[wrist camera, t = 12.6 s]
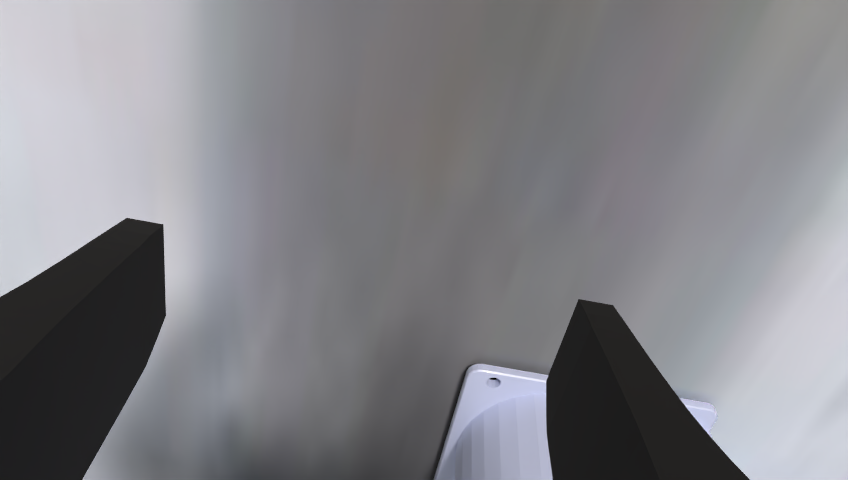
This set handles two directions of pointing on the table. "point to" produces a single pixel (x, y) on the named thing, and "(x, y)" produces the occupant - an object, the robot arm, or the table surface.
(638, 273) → the table surface
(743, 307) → the table surface
